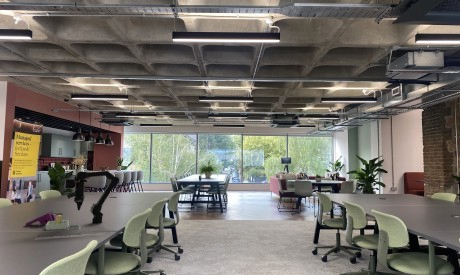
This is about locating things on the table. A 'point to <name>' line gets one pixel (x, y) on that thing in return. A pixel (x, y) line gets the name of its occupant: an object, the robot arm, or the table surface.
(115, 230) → the table surface
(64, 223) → the bin
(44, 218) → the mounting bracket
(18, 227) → the table surface
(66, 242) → the table surface
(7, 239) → the table surface
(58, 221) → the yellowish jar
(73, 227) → the socket block
